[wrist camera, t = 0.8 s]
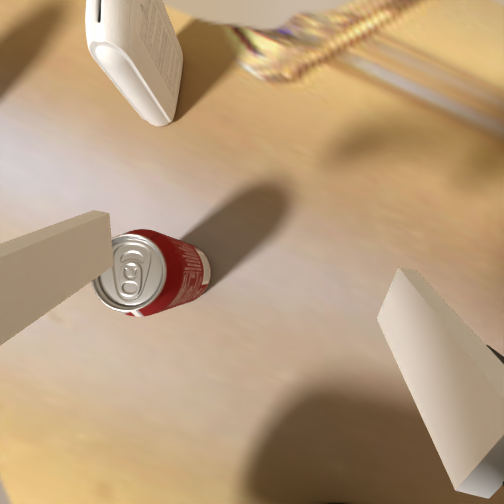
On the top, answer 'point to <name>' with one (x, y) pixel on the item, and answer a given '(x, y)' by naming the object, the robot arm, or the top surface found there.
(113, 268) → the soda can
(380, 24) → the top surface
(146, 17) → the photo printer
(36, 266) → the robot arm
